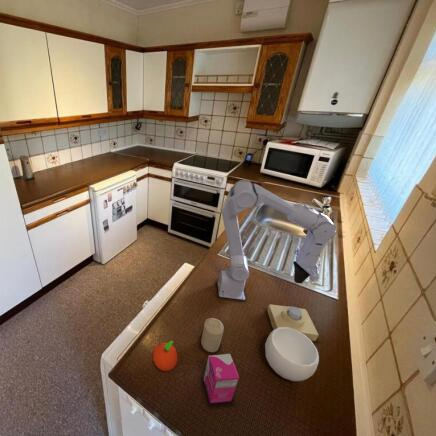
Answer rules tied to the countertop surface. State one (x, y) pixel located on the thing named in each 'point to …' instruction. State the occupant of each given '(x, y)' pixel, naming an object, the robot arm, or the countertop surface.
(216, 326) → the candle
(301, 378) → the white bowl
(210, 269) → the countertop surface
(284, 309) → the square plate with button
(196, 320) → the countertop surface
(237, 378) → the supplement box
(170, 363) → the clementine
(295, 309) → the grey pebble
